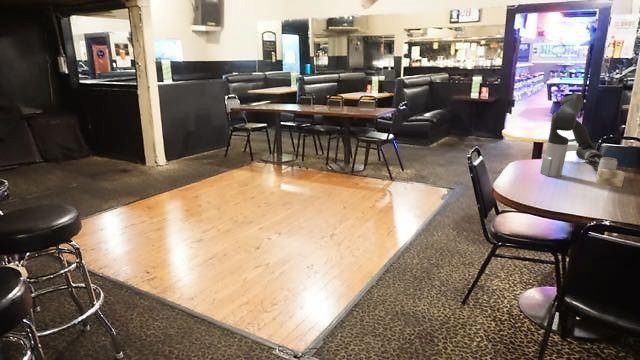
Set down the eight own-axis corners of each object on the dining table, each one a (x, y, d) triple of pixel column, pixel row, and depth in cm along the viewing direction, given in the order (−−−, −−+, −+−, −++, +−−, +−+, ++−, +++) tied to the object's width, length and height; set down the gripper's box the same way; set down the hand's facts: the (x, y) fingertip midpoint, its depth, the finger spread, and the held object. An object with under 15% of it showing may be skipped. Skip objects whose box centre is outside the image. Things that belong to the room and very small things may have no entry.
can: (615, 183, 210) (621, 160, 207) (599, 182, 211) (605, 159, 208) (608, 179, 217) (613, 156, 214) (592, 178, 218) (598, 156, 215)
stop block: (598, 184, 208) (601, 170, 206) (596, 182, 212) (599, 168, 210) (621, 186, 205) (625, 173, 203) (618, 184, 209) (622, 171, 207)
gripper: (582, 150, 237) (590, 157, 221) (608, 152, 233) (619, 160, 217) (579, 163, 239) (586, 171, 223) (605, 165, 235) (615, 173, 219)
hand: (602, 165), depth 220 cm, fingers closed
